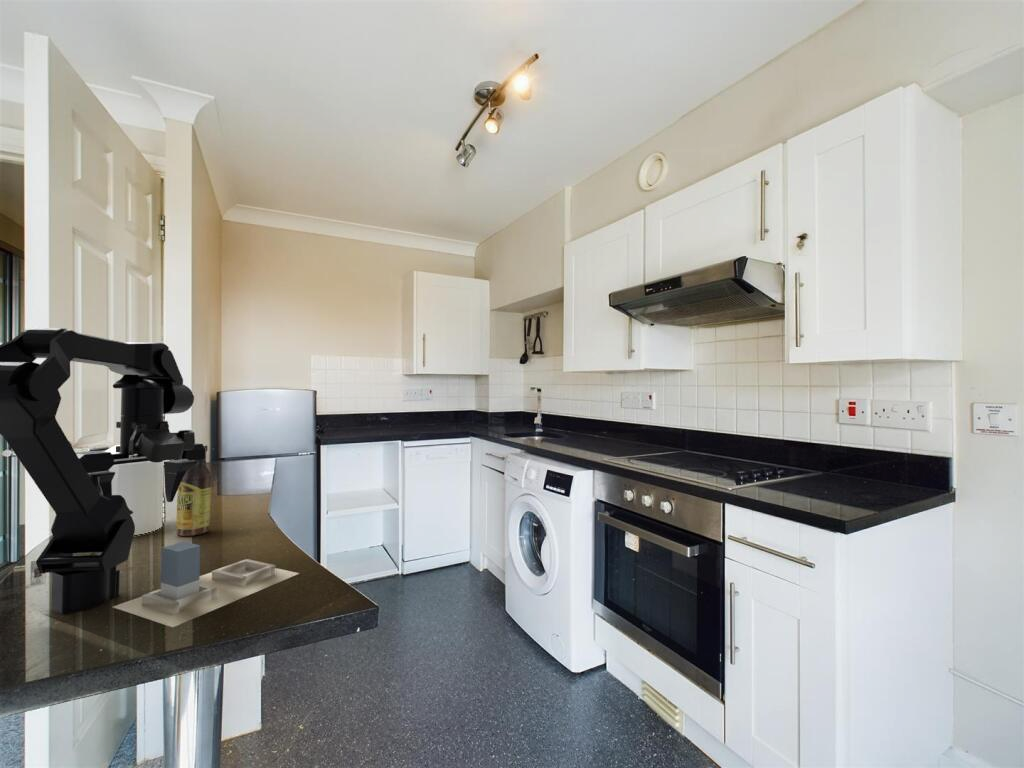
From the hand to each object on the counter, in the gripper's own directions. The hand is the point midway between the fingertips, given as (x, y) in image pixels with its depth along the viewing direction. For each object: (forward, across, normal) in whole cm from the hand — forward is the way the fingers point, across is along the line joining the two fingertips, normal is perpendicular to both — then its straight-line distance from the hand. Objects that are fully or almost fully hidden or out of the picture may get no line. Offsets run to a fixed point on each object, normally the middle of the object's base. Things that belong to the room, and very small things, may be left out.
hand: (140, 507), depth 79 cm
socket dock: (+12, +1, -18) cm, 22 cm away
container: (+12, +15, +34) cm, 39 cm away
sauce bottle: (+12, +20, +18) cm, 30 cm away
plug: (+11, -4, -18) cm, 21 cm away
